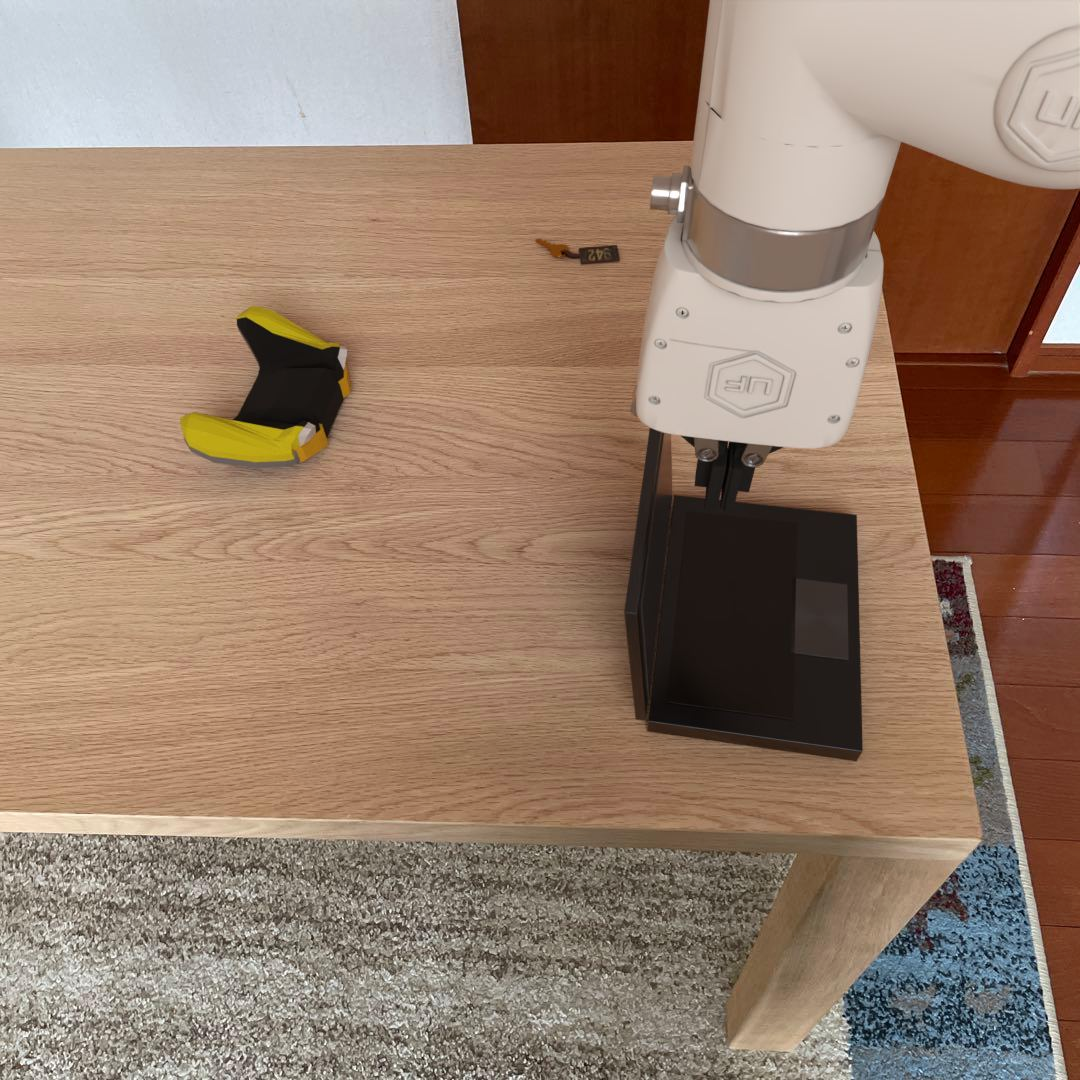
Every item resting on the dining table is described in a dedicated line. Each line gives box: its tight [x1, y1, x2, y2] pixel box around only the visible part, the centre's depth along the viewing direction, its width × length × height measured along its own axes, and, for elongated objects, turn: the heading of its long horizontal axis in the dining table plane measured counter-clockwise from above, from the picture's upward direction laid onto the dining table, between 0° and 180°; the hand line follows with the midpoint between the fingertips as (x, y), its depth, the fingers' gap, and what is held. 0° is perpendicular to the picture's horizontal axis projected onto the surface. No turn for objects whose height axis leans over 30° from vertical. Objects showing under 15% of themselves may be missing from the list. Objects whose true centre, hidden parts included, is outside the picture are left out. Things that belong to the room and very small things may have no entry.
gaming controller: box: [179, 305, 352, 469], centre depth 74 cm, size 15×6×10 cm
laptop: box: [646, 494, 864, 762], centre depth 63 cm, size 13×18×2 cm
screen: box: [623, 427, 673, 721], centre depth 58 cm, size 13×18×1 cm
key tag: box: [535, 238, 621, 265], centre depth 86 cm, size 8×3×1 cm, turn 80°
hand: (719, 490), depth 53 cm, fingers closed
